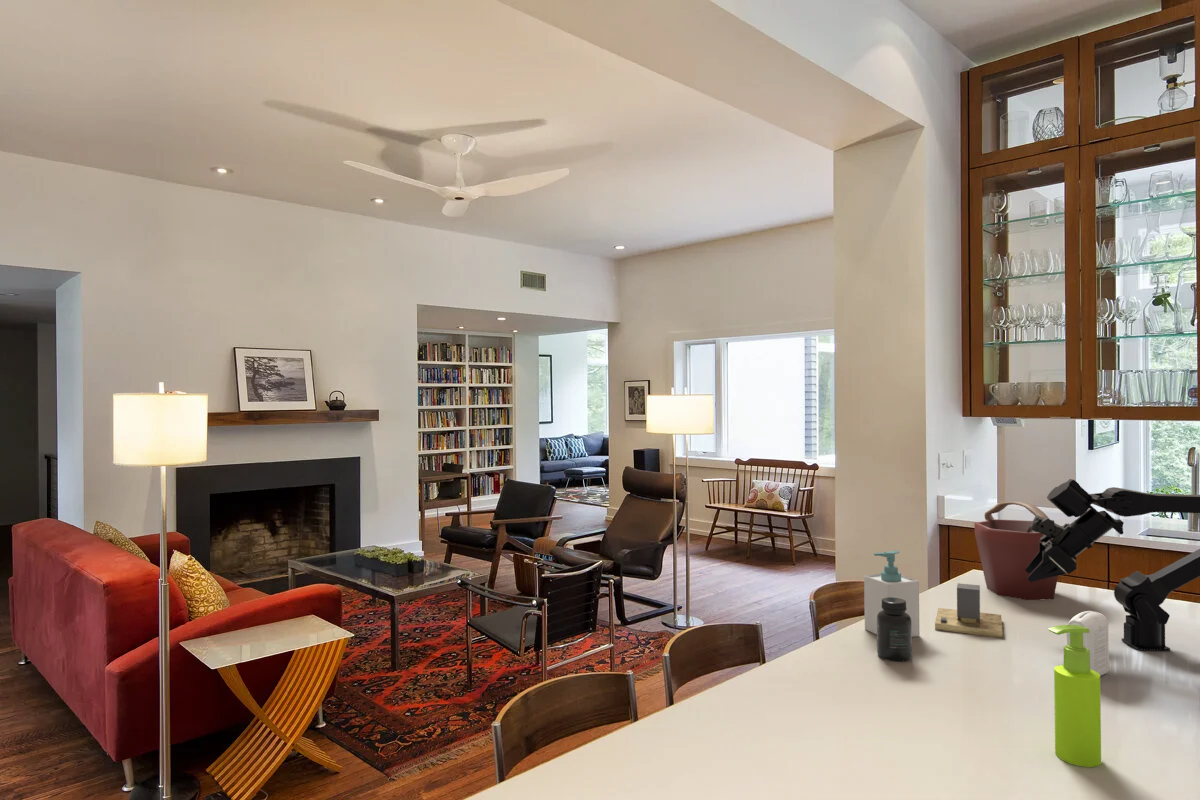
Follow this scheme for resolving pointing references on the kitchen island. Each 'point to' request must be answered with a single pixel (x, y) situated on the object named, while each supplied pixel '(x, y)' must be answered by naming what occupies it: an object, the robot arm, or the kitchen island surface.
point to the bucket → (1011, 555)
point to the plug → (968, 602)
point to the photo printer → (1094, 639)
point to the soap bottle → (890, 593)
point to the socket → (969, 623)
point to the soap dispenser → (1077, 702)
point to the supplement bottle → (894, 631)
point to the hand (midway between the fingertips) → (1027, 575)
